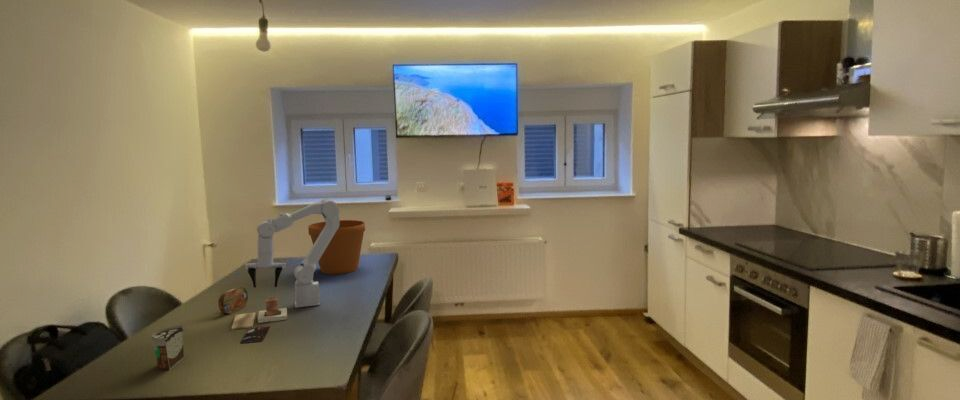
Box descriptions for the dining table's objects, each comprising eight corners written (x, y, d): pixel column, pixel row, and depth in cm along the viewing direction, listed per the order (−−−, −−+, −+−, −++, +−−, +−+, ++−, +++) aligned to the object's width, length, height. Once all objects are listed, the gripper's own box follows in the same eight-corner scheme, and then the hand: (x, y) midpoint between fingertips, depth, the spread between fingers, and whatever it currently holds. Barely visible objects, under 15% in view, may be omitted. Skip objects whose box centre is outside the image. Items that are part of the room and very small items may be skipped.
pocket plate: (287, 311, 210) (286, 307, 210) (286, 319, 201) (286, 315, 200) (259, 314, 207) (259, 311, 206) (258, 323, 197) (257, 319, 197)
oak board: (255, 313, 208) (255, 312, 208) (252, 327, 193) (252, 325, 193) (235, 316, 206) (235, 314, 206) (231, 329, 191) (231, 328, 191)
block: (278, 314, 206) (277, 297, 205) (278, 318, 202) (277, 300, 202) (267, 316, 205) (266, 298, 204) (267, 319, 201) (265, 301, 200)
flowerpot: (378, 268, 278) (375, 223, 275) (329, 279, 258) (326, 230, 255) (347, 260, 297) (345, 218, 294) (300, 270, 277) (297, 225, 274)
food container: (166, 356, 168) (163, 325, 167) (186, 355, 169) (183, 324, 167) (145, 373, 156) (141, 340, 155) (167, 372, 156) (163, 339, 155)
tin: (225, 316, 206) (223, 295, 205) (217, 316, 207) (215, 294, 206) (249, 304, 221) (247, 284, 220) (242, 304, 221) (240, 284, 220)
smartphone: (239, 343, 177) (249, 327, 192) (239, 345, 177) (249, 329, 192) (262, 341, 178) (270, 325, 193) (262, 343, 179) (270, 327, 193)
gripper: (243, 254, 204) (243, 289, 205) (284, 254, 208) (284, 288, 209) (246, 251, 211) (246, 285, 212) (285, 250, 215) (285, 284, 216)
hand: (265, 286), depth 211 cm, fingers open, 7 cm apart
